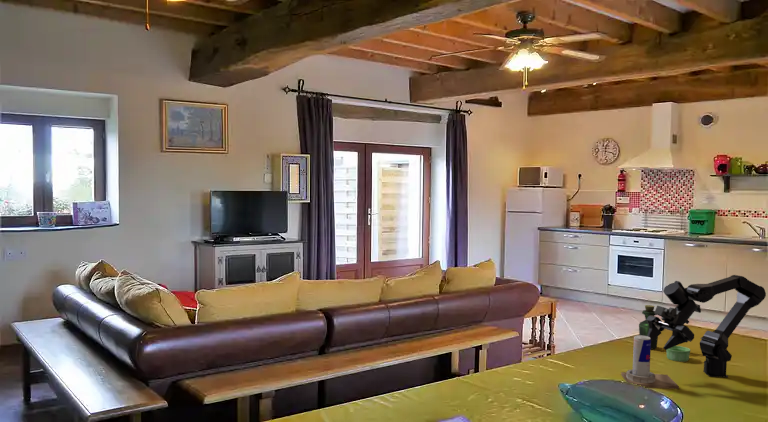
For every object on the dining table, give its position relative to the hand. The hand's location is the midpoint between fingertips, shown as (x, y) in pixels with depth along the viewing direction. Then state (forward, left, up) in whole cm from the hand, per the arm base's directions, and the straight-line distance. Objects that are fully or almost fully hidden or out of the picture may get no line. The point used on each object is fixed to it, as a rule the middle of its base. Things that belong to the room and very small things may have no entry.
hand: (655, 345), depth 224 cm
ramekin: (-18, -31, -13) cm, 38 cm away
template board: (+2, +2, -13) cm, 13 cm away
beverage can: (+5, +2, -12) cm, 13 cm away
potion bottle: (-11, -47, -13) cm, 50 cm away
